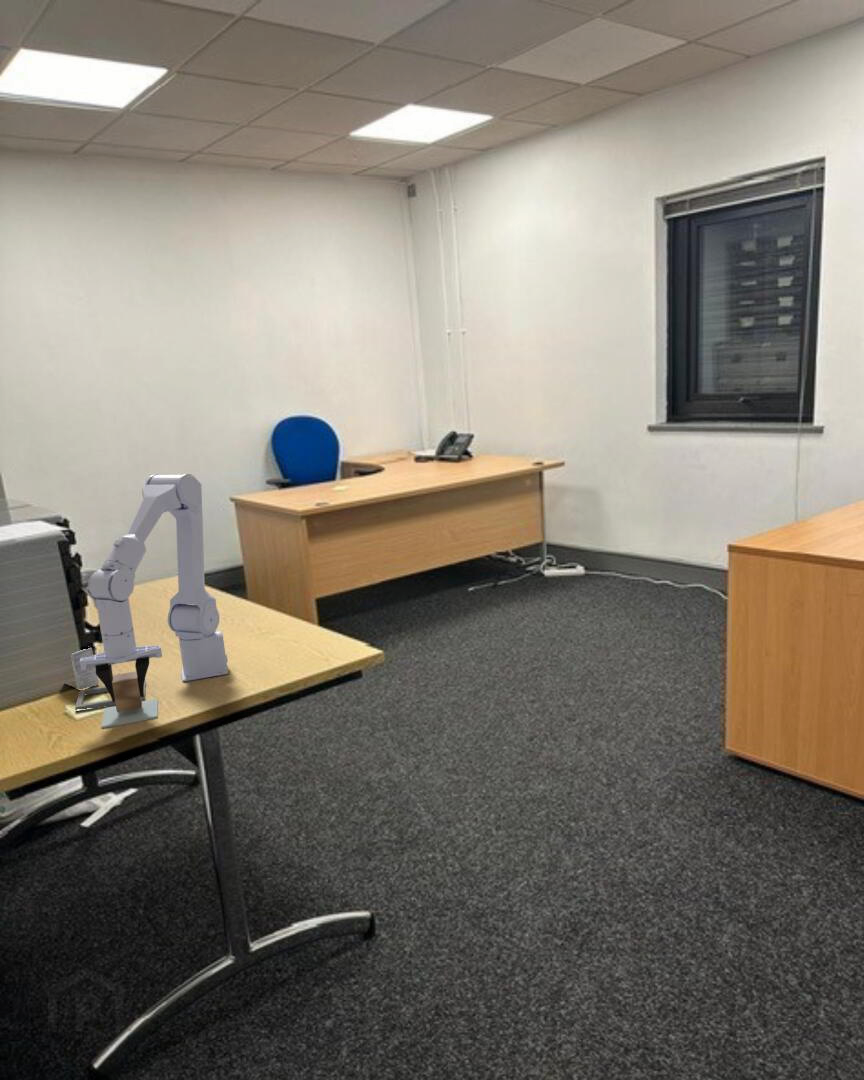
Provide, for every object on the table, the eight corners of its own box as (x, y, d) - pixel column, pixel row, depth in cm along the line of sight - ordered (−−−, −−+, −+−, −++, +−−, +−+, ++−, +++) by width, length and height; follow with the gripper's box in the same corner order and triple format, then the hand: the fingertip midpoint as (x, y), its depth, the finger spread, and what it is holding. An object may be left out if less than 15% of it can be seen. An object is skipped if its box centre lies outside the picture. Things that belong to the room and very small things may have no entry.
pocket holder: (146, 683, 168) (145, 678, 167) (145, 699, 159) (144, 694, 159) (80, 694, 164) (79, 690, 163) (76, 712, 155) (75, 707, 155)
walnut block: (142, 699, 155) (137, 671, 153) (141, 707, 151) (137, 678, 149) (118, 703, 153) (113, 675, 152) (116, 712, 149) (112, 683, 148)
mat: (157, 700, 158) (157, 698, 158) (157, 717, 150) (157, 715, 149) (105, 710, 155) (104, 708, 155) (101, 728, 147) (101, 726, 146)
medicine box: (99, 685, 168) (92, 647, 166) (78, 692, 165) (72, 653, 163) (83, 677, 174) (76, 640, 172) (62, 684, 170) (56, 647, 169)
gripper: (74, 644, 143) (86, 712, 146) (157, 630, 147) (167, 697, 150) (77, 632, 149) (89, 698, 152) (157, 620, 154) (167, 685, 156)
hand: (128, 697), depth 151 cm, fingers closed on walnut block, 4 cm apart
